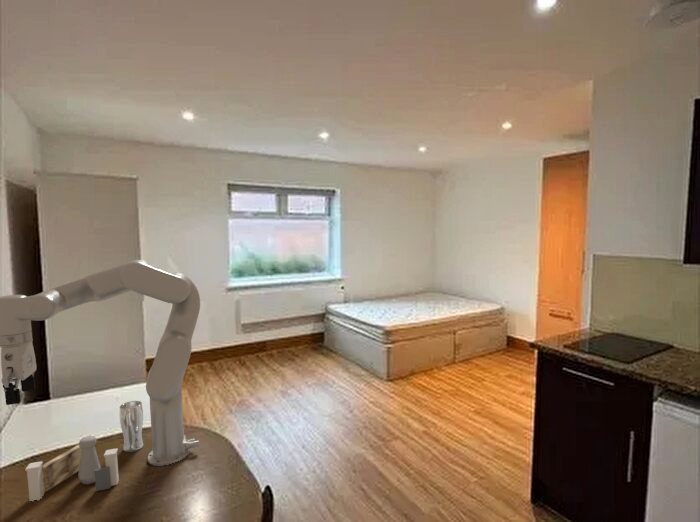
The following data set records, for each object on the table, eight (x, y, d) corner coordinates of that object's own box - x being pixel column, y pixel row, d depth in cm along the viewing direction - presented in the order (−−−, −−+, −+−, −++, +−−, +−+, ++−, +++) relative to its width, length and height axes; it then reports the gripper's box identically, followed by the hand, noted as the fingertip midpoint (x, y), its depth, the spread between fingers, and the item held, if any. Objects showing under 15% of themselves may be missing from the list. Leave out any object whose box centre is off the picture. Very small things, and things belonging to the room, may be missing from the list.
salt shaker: (90, 487, 118) (87, 444, 117) (73, 485, 119) (70, 442, 118) (106, 475, 124) (103, 434, 123) (90, 473, 125) (87, 432, 124)
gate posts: (119, 479, 122) (117, 448, 121) (116, 487, 118) (114, 455, 117) (32, 495, 115) (29, 463, 114) (26, 505, 111) (23, 471, 110)
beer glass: (129, 455, 135) (126, 411, 133) (117, 449, 138) (114, 406, 137) (149, 445, 141) (146, 403, 139) (137, 440, 144) (134, 398, 143)
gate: (47, 491, 115) (44, 467, 115) (42, 490, 116) (40, 466, 115) (93, 461, 130) (92, 440, 129) (89, 461, 130) (87, 439, 130)
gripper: (17, 345, 109) (23, 407, 111) (43, 330, 126) (48, 384, 127) (-17, 348, 107) (-11, 411, 108) (13, 332, 123) (19, 387, 125)
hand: (21, 396), depth 118 cm, fingers open, 9 cm apart
